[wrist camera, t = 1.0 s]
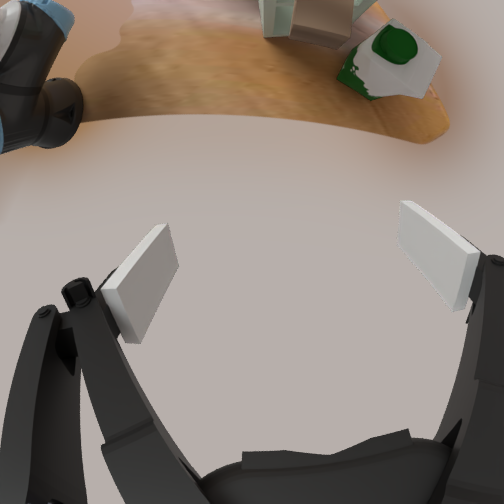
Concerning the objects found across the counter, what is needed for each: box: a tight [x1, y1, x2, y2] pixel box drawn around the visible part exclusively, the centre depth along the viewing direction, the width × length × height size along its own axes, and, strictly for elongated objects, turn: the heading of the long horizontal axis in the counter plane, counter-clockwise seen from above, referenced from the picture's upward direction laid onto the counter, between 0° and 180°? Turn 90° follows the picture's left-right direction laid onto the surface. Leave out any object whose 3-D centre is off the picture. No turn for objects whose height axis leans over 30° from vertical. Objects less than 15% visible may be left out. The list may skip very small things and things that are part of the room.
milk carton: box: [337, 19, 442, 101], centre depth 30 cm, size 9×9×20 cm
